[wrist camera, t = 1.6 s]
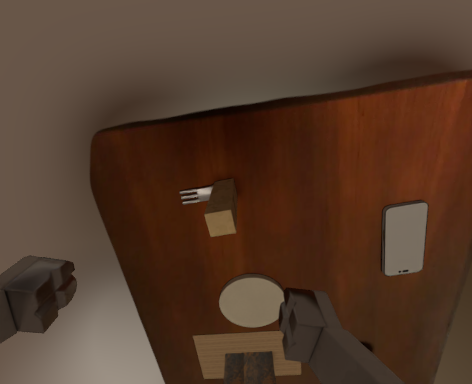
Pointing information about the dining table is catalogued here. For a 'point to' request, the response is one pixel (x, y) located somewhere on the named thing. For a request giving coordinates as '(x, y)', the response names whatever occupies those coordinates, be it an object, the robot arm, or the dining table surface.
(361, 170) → the dining table surface
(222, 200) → the brown block with prongs
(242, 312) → the plate
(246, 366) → the ruin model on sheet
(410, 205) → the smartphone
